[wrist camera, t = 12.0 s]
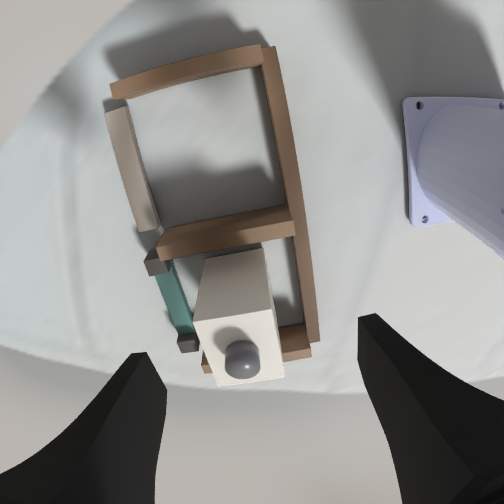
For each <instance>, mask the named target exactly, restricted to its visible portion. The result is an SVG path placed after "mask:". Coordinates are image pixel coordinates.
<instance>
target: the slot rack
mask: <svg viewBox="0 0 504 504" xmlns="http://www.w3.org/2000/svg"><path fill="white" fill-rule="evenodd" d="M260 66H261V71H262V75H263V80H264V85H265V90H266V95H267V100H268V105H269V110H270V115H271V120H272V125H273V130H274V136H275V141H276V146H277V152H278V157H279V163H280V168H281V174H282V180H283V185H284V191H285V197H286V203H287V205H281V206H276V207H270V208H265V209H260V210H255V211H250V212H245V213H239V214H234V215H229V216H225V217H220V218H215V219H210V220H205V221H200V222H196V223H191V224H186V225H181V226H177V227H172V228H168V229H165V231H164V233H163V235H162V237H161V239H160V240H159V242H158V244H157V246H156V249H154V250H150V251H149V252H148V254H147V256H146V258H145V260H144V264H145V266H146V269H147V271H148V274H149V276H154V275H155V277H156V280H157V283H158V285H159V288H160V290H161V293H162V296H163V298H164V301H165V303H166V306H167V308H168V311H169V313H170V316H171V318H172V320H173V323H174V325H175V328H176V330H177V332H178V339H177V344H178V346H179V349H180V351H181V353H187V352H196V351H199V344H200V340H199V338H198V335H197V332H196V330H195V327H194V325H193V317H192V314H191V311H190V308H189V306H188V303H187V300H186V297H185V295H184V292H183V289H182V286H181V283H180V280H179V278H178V275H177V272H176V269H175V266H174V263H173V260H172V259H175V258H180V257H185V256H190V255H195V254H200V253H206V252H211V251H216V250H221V249H226V248H232V247H237V246H242V245H247V244H252V243H258V242H263V241H268V240H274V239H279V238H284V237H289V236H292V240H293V247H294V253H295V260H296V266H297V273H298V280H299V287H300V294H301V301H302V309H303V316H304V324H299V325H294V326H289V327H283V328H278V331H279V337H280V344H281V351H282V358H283V362H287V361H293V360H298V359H303V358H309V357H312V355H311V347H310V343H313V342H318V341H320V334H319V323H318V313H317V304H316V294H315V285H314V277H313V268H312V260H311V252H310V244H309V236H308V229H307V222H306V215H305V208H304V201H303V194H302V187H301V181H300V175H299V168H298V162H297V156H296V150H295V144H294V139H293V133H292V127H291V122H290V116H289V111H288V106H287V100H286V95H285V90H284V85H283V80H282V75H281V70H280V65H279V61H278V56H277V51H276V47H275V46H272V47H265V48H261V45H260V44H256V45H251V46H245V47H239V48H234V49H229V50H224V51H219V52H215V53H210V54H206V55H202V56H198V57H194V58H190V59H186V60H182V61H178V62H175V63H171V64H168V65H164V66H161V67H158V68H154V69H151V70H148V71H145V72H142V73H139V74H136V75H133V76H130V77H127V78H124V79H122V80H119V81H116V82H113V83H111V84H110V88H111V92H112V97H113V99H132V98H135V97H138V96H141V95H144V94H147V93H150V92H153V91H157V90H160V89H163V88H167V87H170V86H174V85H178V84H181V83H185V82H189V81H193V80H197V79H201V78H205V77H209V76H214V75H218V74H223V73H228V72H232V71H238V70H243V69H248V68H254V67H260ZM105 117H106V121H107V125H108V129H109V133H110V137H111V141H112V145H113V148H114V152H115V155H116V159H117V163H118V166H119V170H120V173H121V176H122V180H123V183H124V186H125V190H126V193H127V196H128V199H129V203H130V206H131V209H132V212H133V215H134V218H135V221H136V224H137V227H138V230H139V232H143V231H148V230H152V229H156V228H159V226H160V225H161V223H160V220H159V217H158V213H157V210H156V207H155V203H154V200H153V197H152V193H151V190H150V186H149V183H148V180H147V176H146V172H145V169H144V165H143V162H142V158H141V154H140V151H139V147H138V143H137V139H136V135H135V131H134V127H133V123H132V119H131V115H130V111H129V107H128V106H124V107H121V108H118V109H116V110H113V111H110V112H107V113H105ZM201 366H202V368H203V371H204V373H205V374H206V373H213V372H212V370H211V368H210V365H209V363H208V360H207V358H206V355H205V353H204V350H203V355H202V363H201Z"/></svg>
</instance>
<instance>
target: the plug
mask: <svg viewBox="0 0 504 504" xmlns="http://www.w3.org/2000/svg"><path fill="white" fill-rule="evenodd" d="M193 325H194V327H195V330H196V332H197V335H198V338H199V340H200V343H201V345H202V348H203V350H204V353H205V355H206V358H207V360H208V363H209V365H210V368H211V370H212V372H213V375H214V377H215V380H216V382H217V384H218V387H221V386H230V385H238V384H245V383H252V382H259V381H265V380H272V379H278V378H283V377H285V371H284V365H283V358H282V351H281V344H280V337H279V331H278V324H277V317H276V311H275V305H274V300H273V295H272V290H271V285H270V280H269V275H268V270H267V264H266V259H265V254H264V249H263V248H260V249H255V250H250V251H245V252H239V253H234V254H229V255H223V256H218V257H213V258H208V259H205V262H204V267H203V271H202V276H201V281H200V286H199V291H198V296H197V301H196V307H195V312H194V317H193Z"/></svg>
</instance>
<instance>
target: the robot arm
mask: <svg viewBox="0 0 504 504" xmlns="http://www.w3.org/2000/svg"><path fill="white" fill-rule="evenodd" d="M417 102H419V103H420V108H419V109H417V107H416V103H417ZM499 104H500V108H499ZM402 107H403V116H404V125H405V135H406V147H407V161H408V181H409V221H410V224H411V225H412V226H413V227H415V228H420V227H425V226H430V225H435V224H440V223H445V222H450V221H455V222H456V223H458V224H459V225H460V226H462V227H463V228H465V229H466V230H467V231H469V232H470V233H471V234H473V235H474V236H475V237H477V238H478V239H479V240H481V241H482V242H483V243H484V244H486V245H487V246H488V247H490V248H491V249H492V250H493V251H495V252H496V253H497V254H498V255H500V256H501V257H502V258H503V259H504V99H493V98H475V97H408V98H405V99H404V101H403V103H402ZM423 216H426V217H425V220H424V221H422V218H423ZM357 360H358V364H359V367H360V371H361V374H362V378H363V381H364V384H365V387H366V389H367V392H368V394H369V397H370V399H371V401H372V404H373V406H374V408H375V411H376V413H377V416H378V418H379V420H380V423H381V425H382V428H383V430H384V433H385V435H386V438H387V441H388V444H389V447H390V450H391V454H392V458H393V462H394V465H395V470H396V474H397V479H398V483H399V488H400V493H401V498H402V504H504V400H501V399H499V398H497V397H494V396H492V395H490V394H488V393H485V392H484V391H481V390H479V389H477V388H475V387H473V386H471V385H469V384H468V383H466V382H464V381H462V380H461V379H459V378H457V377H456V376H454V375H452V374H451V373H449V372H448V371H446V370H445V369H443V368H442V367H440V366H439V365H437V364H436V363H435V362H433V361H432V360H431V359H429V358H428V357H427V356H425V355H424V354H423V353H421V352H420V351H419V350H418V349H416V348H415V347H414V346H413V345H412V344H410V343H409V342H408V341H407V340H406V339H404V338H403V337H402V336H401V335H400V334H399V333H397V332H396V331H395V330H394V329H393V328H392V327H391V326H390V325H388V324H387V323H386V322H385V321H384V320H383V319H382V318H381V317H380V316H379V315H377V314H376V313H374V314H370V315H365V316H361V317H358V358H357ZM166 404H167V389H166V387H165V385H164V383H163V382H162V380H161V378H160V376H159V374H158V373H157V371H156V369H155V367H154V365H153V363H152V362H151V360H150V358H149V356H148V354H147V352H142V353H131V354H130V356H129V357H128V358H127V359H126V360H125V361H124V363H123V364H122V365H121V366H120V367H119V369H118V370H117V371H116V372H115V374H114V375H113V376H112V377H111V379H110V380H109V381H108V382H107V384H106V385H105V386H104V387H103V389H102V390H101V391H100V392H99V393H98V395H97V396H96V397H95V398H94V399H93V400H92V401H91V403H90V404H89V405H88V406H87V407H86V408H85V409H84V411H83V412H82V413H81V414H80V415H79V416H78V417H77V418H76V419H75V420H74V421H73V422H72V423H71V424H70V425H69V426H68V427H67V428H66V429H65V430H64V431H63V432H62V433H61V434H60V435H58V436H57V437H56V438H55V439H54V440H52V441H51V442H50V443H49V444H47V445H46V446H45V447H44V448H42V449H41V450H40V451H39V452H37V453H36V454H34V455H33V456H31V457H30V458H28V459H27V460H25V461H23V462H22V463H20V464H18V465H17V466H15V467H13V468H11V469H9V470H7V471H5V472H3V473H1V474H0V504H155V501H154V500H155V499H154V498H155V474H156V466H157V460H158V454H159V449H160V444H161V438H162V433H163V428H164V422H165V416H166Z"/></svg>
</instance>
